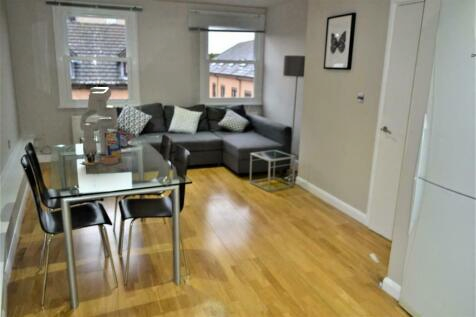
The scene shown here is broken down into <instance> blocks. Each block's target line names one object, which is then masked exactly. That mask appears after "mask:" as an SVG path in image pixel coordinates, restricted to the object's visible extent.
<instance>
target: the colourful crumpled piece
mask: <svg viewBox="0 0 476 317" xmlns="http://www.w3.org/2000/svg"><path fill="white" fill-rule="evenodd" d="M117 132H119V133H120V145H121V148H125V147H127V146H128V145H129V141H131V140H132V139H133V137H134V136H135V135H134V134H127V133H126V132H125V131H123V130H122V129H118V131H117Z"/></svg>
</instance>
